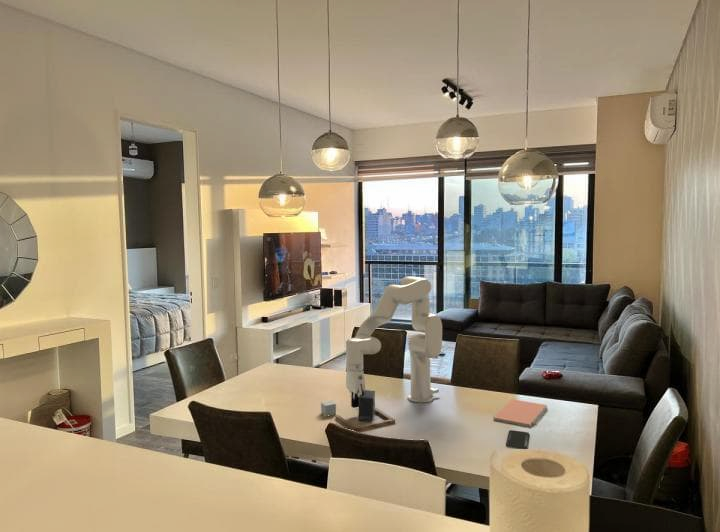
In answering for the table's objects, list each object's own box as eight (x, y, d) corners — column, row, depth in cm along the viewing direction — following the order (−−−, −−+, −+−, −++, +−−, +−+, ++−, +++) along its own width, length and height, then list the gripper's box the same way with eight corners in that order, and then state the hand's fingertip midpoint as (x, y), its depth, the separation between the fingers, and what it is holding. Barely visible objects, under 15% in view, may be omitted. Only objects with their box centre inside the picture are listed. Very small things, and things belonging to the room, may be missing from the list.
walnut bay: (375, 410, 236) (375, 407, 236) (395, 423, 221) (395, 419, 220) (335, 418, 227) (335, 415, 227) (353, 432, 211) (353, 428, 211)
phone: (529, 432, 207) (527, 447, 193) (529, 435, 207) (527, 450, 193) (508, 429, 210) (505, 444, 196) (508, 432, 210) (505, 447, 196)
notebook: (532, 429, 213) (532, 424, 213) (492, 421, 222) (492, 416, 222) (549, 409, 236) (549, 404, 236) (512, 402, 245) (512, 398, 245)
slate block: (331, 411, 236) (331, 400, 236) (336, 414, 232) (335, 403, 232) (321, 413, 234) (321, 402, 234) (325, 416, 230) (325, 405, 229)
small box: (372, 421, 223) (373, 397, 222) (357, 420, 223) (358, 397, 223) (375, 413, 233) (375, 390, 232) (360, 412, 234) (361, 389, 233)
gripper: (370, 369, 225) (370, 410, 226) (354, 361, 238) (354, 400, 239) (355, 371, 221) (355, 413, 223) (339, 363, 234) (340, 403, 236)
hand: (355, 406), depth 231 cm, fingers closed
